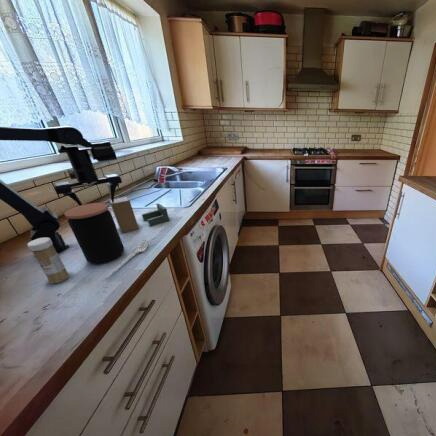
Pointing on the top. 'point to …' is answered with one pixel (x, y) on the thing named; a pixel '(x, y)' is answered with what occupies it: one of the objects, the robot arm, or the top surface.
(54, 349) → the top surface
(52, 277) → the sprinkles bottle
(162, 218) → the cradle
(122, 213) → the brown box
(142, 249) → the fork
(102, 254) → the coffee jar
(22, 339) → the top surface
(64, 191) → the robot arm
